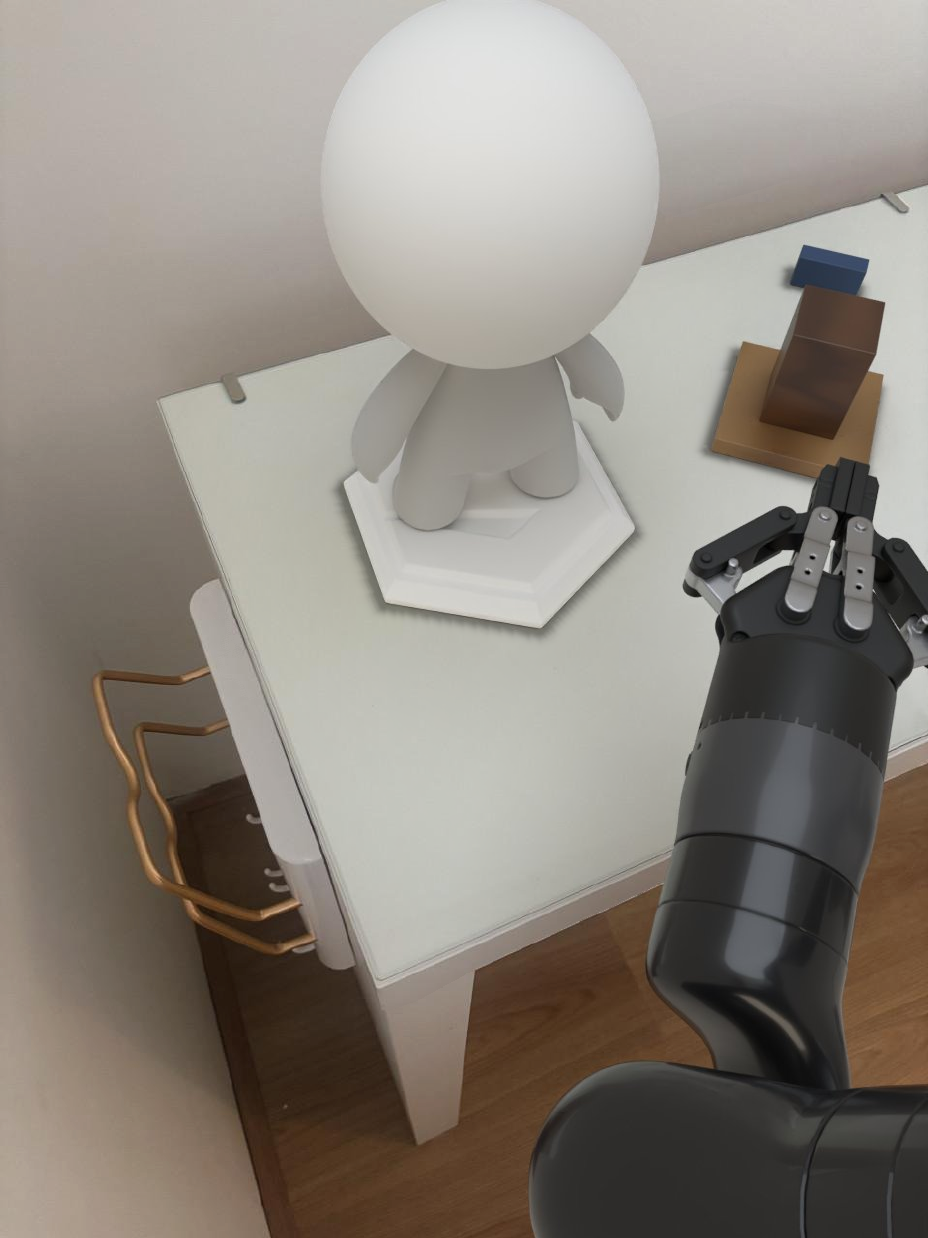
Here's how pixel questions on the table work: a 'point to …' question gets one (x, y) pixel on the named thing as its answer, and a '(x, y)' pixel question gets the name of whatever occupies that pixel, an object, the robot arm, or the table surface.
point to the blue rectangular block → (829, 270)
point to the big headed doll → (488, 297)
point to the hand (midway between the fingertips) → (848, 471)
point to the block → (807, 388)
